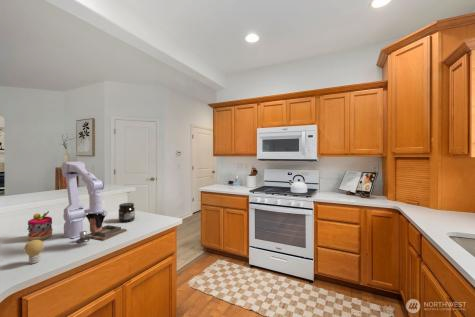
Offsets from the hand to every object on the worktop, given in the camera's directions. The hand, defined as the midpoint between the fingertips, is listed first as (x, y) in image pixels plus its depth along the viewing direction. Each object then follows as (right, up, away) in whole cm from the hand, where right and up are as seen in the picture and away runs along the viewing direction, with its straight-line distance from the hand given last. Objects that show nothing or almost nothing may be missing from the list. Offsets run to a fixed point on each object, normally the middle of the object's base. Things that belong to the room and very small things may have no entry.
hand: (96, 227), depth 117 cm
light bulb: (-14, -10, -20) cm, 27 cm away
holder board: (-3, -9, +14) cm, 16 cm away
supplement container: (-4, -8, +39) cm, 40 cm away
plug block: (0, -2, 0) cm, 2 cm away
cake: (-37, -9, +7) cm, 39 cm away
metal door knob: (-9, -9, +3) cm, 13 cm away
